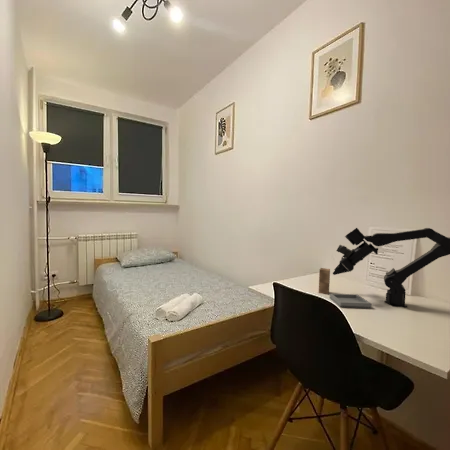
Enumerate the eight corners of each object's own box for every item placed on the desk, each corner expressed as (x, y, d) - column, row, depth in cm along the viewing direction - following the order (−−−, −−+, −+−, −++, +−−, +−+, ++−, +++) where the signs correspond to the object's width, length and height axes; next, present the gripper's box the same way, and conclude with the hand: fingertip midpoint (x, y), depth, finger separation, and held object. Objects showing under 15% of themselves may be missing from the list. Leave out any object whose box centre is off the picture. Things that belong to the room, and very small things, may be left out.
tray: (356, 298, 119) (357, 294, 119) (371, 308, 107) (371, 303, 107) (329, 298, 120) (329, 293, 120) (340, 307, 108) (340, 302, 108)
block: (329, 292, 129) (330, 269, 129) (328, 294, 125) (329, 270, 125) (319, 290, 131) (320, 267, 131) (318, 292, 127) (319, 269, 127)
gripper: (348, 238, 130) (324, 256, 136) (346, 241, 114) (319, 262, 120) (365, 255, 127) (340, 273, 133) (365, 260, 111) (336, 281, 116)
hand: (334, 272), depth 126 cm, fingers open, 9 cm apart
